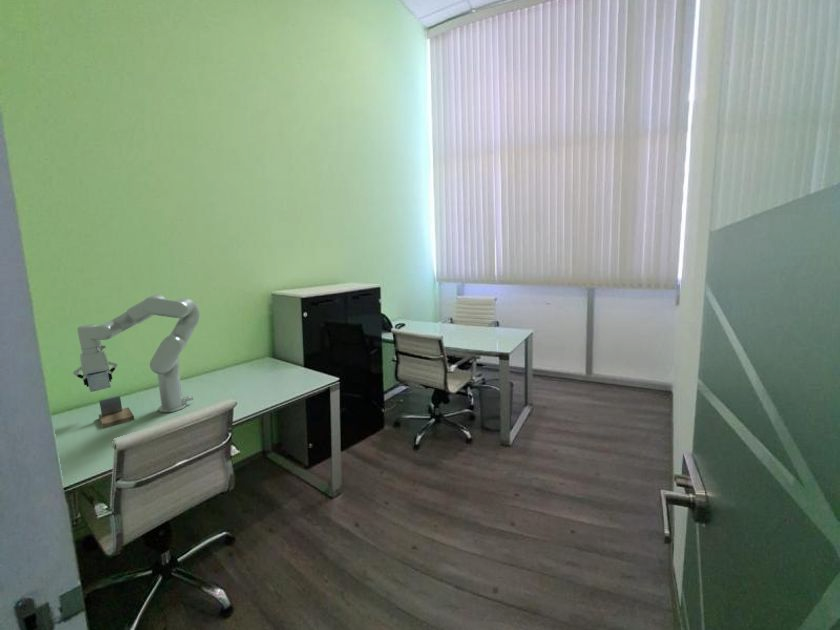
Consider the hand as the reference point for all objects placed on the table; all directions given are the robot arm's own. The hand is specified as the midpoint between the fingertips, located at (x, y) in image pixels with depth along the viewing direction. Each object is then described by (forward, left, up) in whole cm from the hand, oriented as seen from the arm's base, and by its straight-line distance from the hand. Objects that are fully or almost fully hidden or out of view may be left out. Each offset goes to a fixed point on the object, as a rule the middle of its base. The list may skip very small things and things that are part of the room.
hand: (98, 383), depth 187 cm
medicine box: (0, 0, -3) cm, 3 cm away
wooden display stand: (-4, +9, -17) cm, 20 cm away
